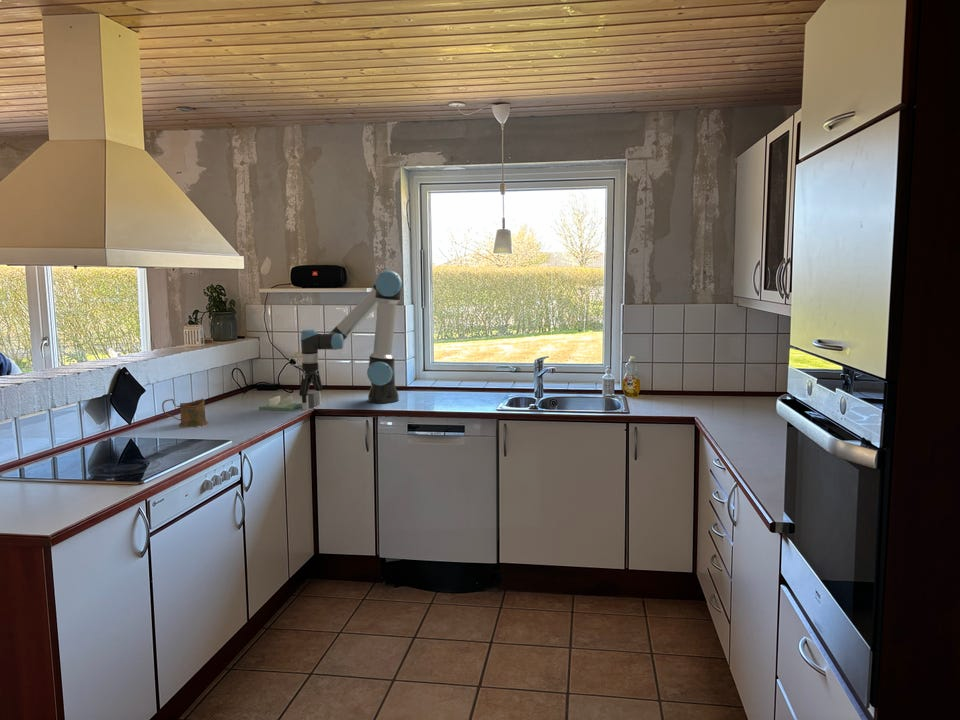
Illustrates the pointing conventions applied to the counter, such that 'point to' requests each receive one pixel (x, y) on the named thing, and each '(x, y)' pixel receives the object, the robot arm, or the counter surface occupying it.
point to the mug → (191, 413)
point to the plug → (312, 399)
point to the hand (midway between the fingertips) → (311, 406)
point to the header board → (280, 404)
